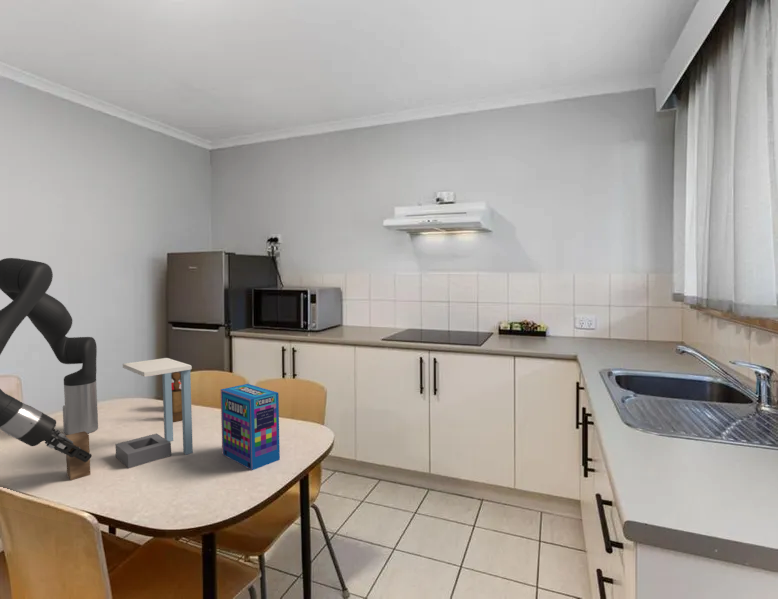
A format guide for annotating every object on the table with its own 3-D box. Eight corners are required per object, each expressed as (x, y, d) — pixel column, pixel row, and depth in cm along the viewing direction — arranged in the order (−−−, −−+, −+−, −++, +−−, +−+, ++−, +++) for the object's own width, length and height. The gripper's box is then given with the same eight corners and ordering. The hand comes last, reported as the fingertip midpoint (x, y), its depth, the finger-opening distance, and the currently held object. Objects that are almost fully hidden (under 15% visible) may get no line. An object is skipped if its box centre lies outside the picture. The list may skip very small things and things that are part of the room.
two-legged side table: (147, 467, 120) (144, 372, 119) (125, 449, 133) (122, 363, 132) (194, 453, 130) (191, 365, 128) (169, 438, 143) (167, 357, 141)
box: (222, 454, 129) (220, 389, 128) (249, 445, 136) (247, 383, 135) (252, 470, 118) (250, 399, 117) (279, 459, 125) (278, 392, 124)
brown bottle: (181, 421, 159) (179, 374, 158) (164, 421, 159) (162, 374, 158) (189, 416, 166) (188, 370, 165) (173, 416, 166) (172, 370, 165)
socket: (128, 468, 120) (127, 454, 120) (115, 457, 128) (115, 443, 127) (171, 455, 128) (170, 442, 128) (157, 445, 136) (156, 433, 136)
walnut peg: (70, 480, 113) (69, 439, 112) (66, 475, 116) (65, 435, 115) (90, 474, 116) (88, 435, 116) (86, 469, 119) (84, 431, 119)
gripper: (45, 417, 105) (105, 450, 114) (35, 406, 114) (90, 437, 124) (18, 444, 101) (82, 476, 111) (10, 430, 111) (69, 461, 120)
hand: (86, 456), depth 117 cm, fingers closed on walnut peg, 4 cm apart
